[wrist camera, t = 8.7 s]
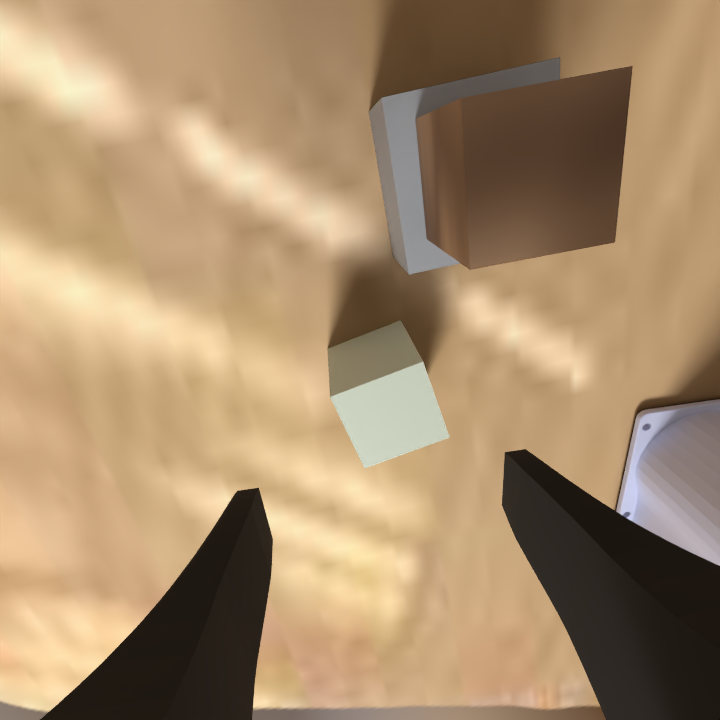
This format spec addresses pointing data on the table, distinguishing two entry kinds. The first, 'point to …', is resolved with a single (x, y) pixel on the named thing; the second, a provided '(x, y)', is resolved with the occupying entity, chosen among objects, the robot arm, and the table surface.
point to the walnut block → (525, 169)
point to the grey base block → (402, 158)
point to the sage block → (384, 395)
